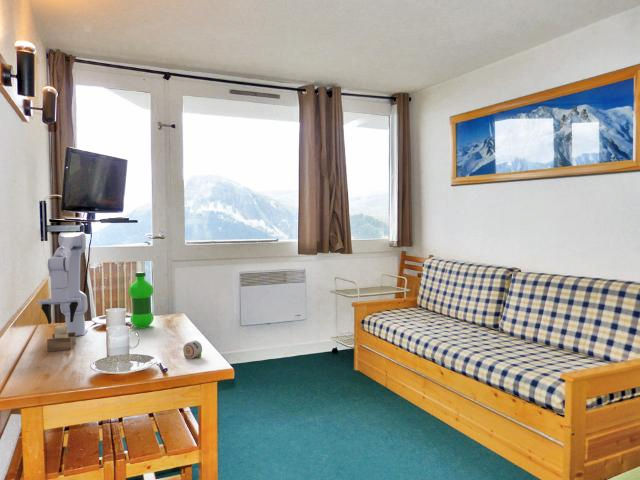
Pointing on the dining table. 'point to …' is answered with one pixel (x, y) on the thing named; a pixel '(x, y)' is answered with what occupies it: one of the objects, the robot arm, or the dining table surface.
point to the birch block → (61, 331)
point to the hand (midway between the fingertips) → (61, 322)
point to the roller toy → (192, 349)
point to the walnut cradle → (61, 342)
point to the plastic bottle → (141, 301)
